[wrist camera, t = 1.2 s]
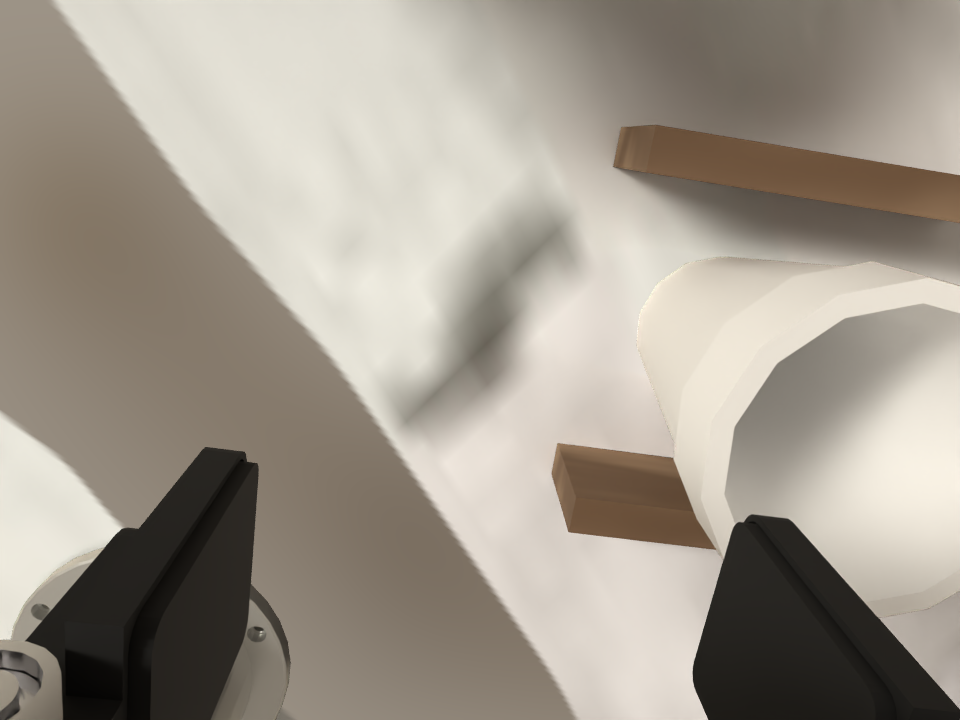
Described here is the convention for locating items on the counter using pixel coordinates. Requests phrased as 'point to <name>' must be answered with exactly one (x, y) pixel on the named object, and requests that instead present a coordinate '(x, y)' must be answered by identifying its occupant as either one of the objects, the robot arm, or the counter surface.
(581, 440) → the counter surface
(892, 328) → the foam cup
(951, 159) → the counter surface
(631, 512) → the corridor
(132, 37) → the counter surface
